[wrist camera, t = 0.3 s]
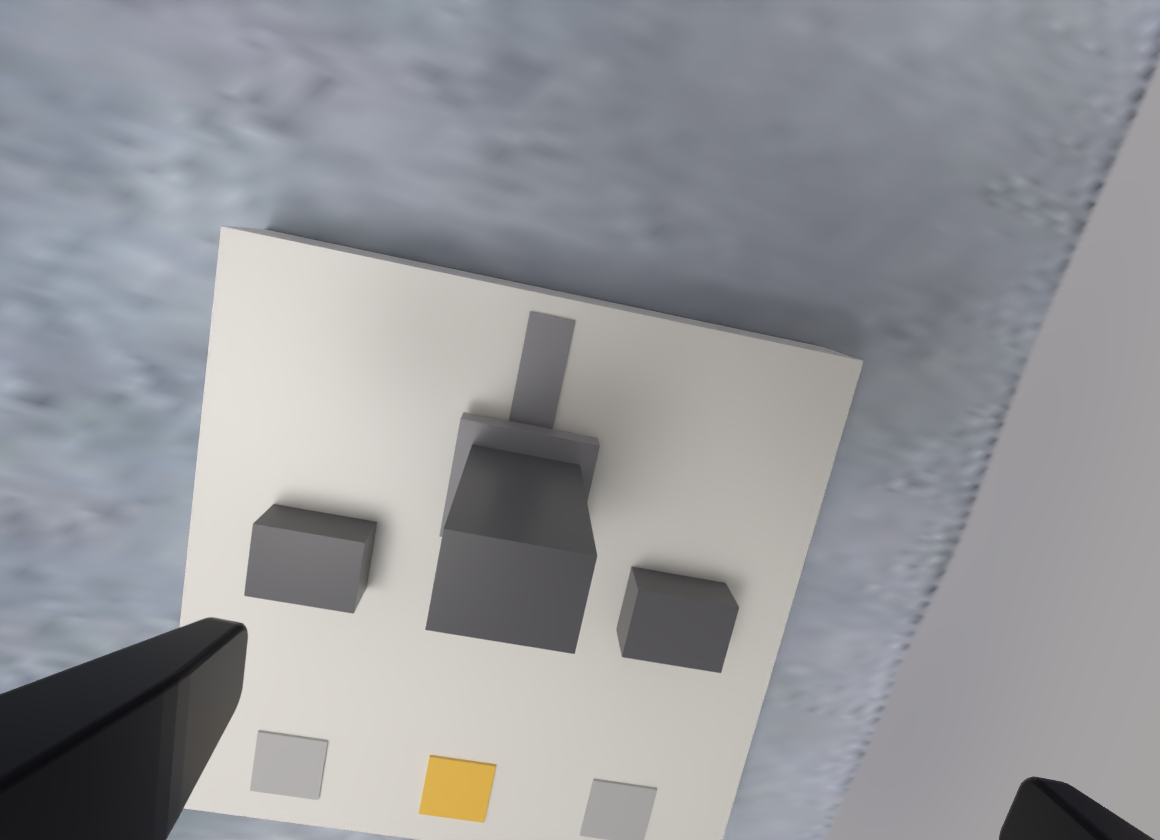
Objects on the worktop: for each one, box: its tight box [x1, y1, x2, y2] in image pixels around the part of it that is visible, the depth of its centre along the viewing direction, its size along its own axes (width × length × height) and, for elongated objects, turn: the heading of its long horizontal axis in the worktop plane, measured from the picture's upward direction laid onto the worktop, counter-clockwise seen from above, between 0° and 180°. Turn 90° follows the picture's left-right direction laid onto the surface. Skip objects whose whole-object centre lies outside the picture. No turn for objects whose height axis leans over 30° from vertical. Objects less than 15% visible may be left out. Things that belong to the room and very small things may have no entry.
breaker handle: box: [425, 412, 600, 654], centre depth 17 cm, size 3×4×7 cm
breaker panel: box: [180, 226, 864, 840], centre depth 22 cm, size 17×17×4 cm
